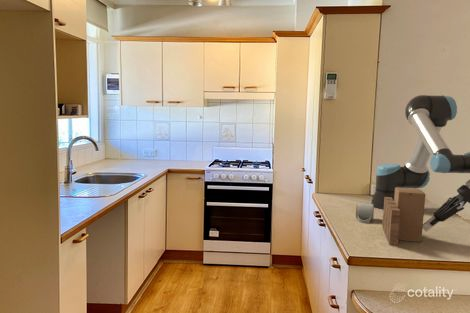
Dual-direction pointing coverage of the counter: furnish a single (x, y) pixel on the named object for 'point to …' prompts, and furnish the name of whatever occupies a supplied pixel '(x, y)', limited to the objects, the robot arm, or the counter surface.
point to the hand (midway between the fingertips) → (423, 228)
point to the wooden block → (410, 213)
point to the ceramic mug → (365, 212)
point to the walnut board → (391, 221)
